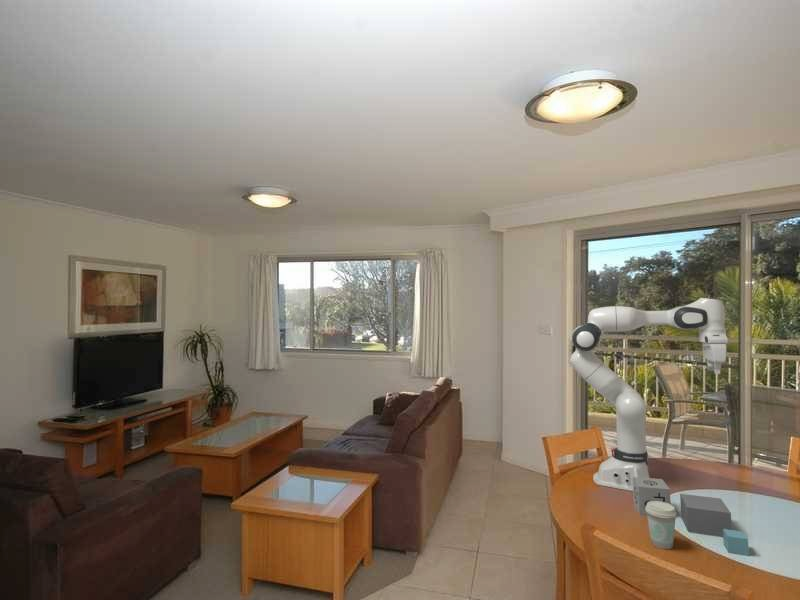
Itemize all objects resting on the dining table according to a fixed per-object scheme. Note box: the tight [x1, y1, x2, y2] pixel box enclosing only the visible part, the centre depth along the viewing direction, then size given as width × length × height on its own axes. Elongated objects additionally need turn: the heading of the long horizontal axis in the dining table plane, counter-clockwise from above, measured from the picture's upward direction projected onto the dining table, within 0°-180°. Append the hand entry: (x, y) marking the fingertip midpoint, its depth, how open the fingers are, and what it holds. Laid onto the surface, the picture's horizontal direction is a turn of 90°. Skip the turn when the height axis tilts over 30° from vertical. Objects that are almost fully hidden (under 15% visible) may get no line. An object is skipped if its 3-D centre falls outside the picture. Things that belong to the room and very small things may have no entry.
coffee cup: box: [645, 501, 678, 550], centre depth 139 cm, size 8×8×12 cm
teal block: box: [722, 529, 750, 557], centre depth 135 cm, size 5×5×5 cm
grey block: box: [679, 493, 733, 538], centre depth 150 cm, size 12×12×8 cm
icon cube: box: [632, 477, 672, 517], centre depth 163 cm, size 10×10×10 cm
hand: (714, 372), depth 178 cm, fingers open, 8 cm apart
